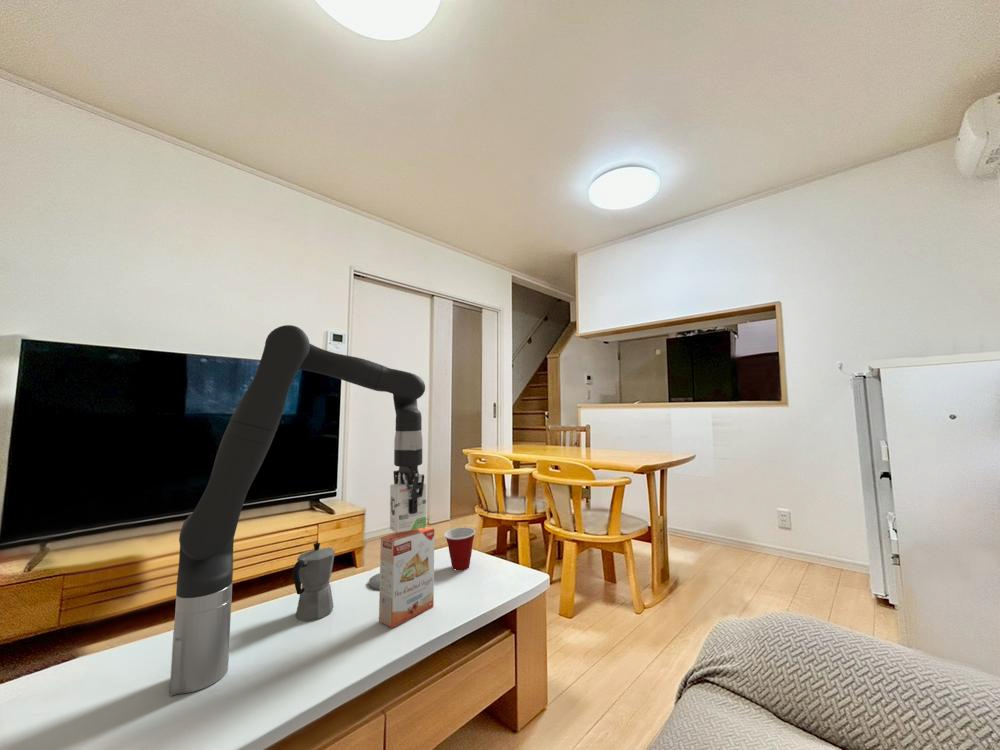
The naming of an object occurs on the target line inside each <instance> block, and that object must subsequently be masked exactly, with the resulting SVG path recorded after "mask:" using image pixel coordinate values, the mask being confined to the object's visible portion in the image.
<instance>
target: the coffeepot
mask: <svg viewBox="0 0 1000 750" xmlns="http://www.w3.org/2000/svg"><path fill="white" fill-rule="evenodd" d="M320 546H321V542H314V543H313V549H312V550H307V551H305V552H302V553H300V555H298V556H297V558H296V559H297V561H296V562H295V564H294V566H293V569H292V571H291V573H292V578H293V583H294V586H295V591H296V594H297V595H299V598H298V603H297V608H296V613H295V618H296V619H297V620H298V621H301V622H313V621H318V620H322V619H323V618H326V617H328V616H329V615H330V614H332V612H333V609H334V602H333V601H334V600H333V594H332V587H331V584H330V579H331V577H332V571H333V567H334V561H335V560H334V559H335V554H336V550H334V547H325V548H320Z"/></svg>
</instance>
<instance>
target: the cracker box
mask: <svg viewBox="0 0 1000 750" xmlns="http://www.w3.org/2000/svg"><path fill="white" fill-rule="evenodd" d="M379 558H380V562H379V563H380V564H379V573H380V590H379V602H378V603H379V607H378V610H379V611H378V612H379V613H378V623H382V624H383V625H385V626H386V627H389V628H391V629H393V628H396V627H397V626H399V625H401V624H403V623H404V622H406V621H408V620H411V619H413V618H414V617H416V616H418V615H420V614H422V613H423V612H425V611H427V610H429V609H431V608H433V607H434V603H435V601H434V595H435V594H434V591H435V588H434V585H435V584H434V582H435V581H434V580H435V576H434V575H435V528H434V527H430V526H426V527H424V528H419V529H414V530H409V531H404V532H399V533H396V532H394V533H391V534H388V535H384V536H381V537H380V557H379Z"/></svg>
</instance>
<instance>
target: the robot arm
mask: <svg viewBox="0 0 1000 750" xmlns="http://www.w3.org/2000/svg"><path fill="white" fill-rule="evenodd" d="M264 344H265V345H264V347H263V352H262V355H261V358H260V361H259V364H258V367H257V370H256V371H255V372H256V373H255V375H254V377H253V379H252V380H251V382H250V384H249V385H248V387H247V389H246V391H245V392H244V394H243V395H242V397H241V399H240V401H239V403H238V404H237V406H236V408H235V410H234V412H233V414H232V416H231V418H230V420H229V422H228V423H227V426H226V429H225V431H224V433H223V436H222V438H221V441H220V443H219V446H218V449H217V452H216V456H215V459H214V462H213V463H214V464H213V467H212V470H211V475H210V477H209V480H208V483H207V486H206V488H205V490H204V491H203V494H202V495H201V498H200V500H199V501H198V503H197V504H196V507H195V509H193V512H191V513H190V514H189V515H188V516H187V518H186V519H185V521H184V522H183V523H182V525H181V528H180V532H179V539H178V542H179V560H178V568H177V579H176V593H175V595H176V596H175V609H174V610H175V611H174V612H175V613H174V624H173V626H174V627H173V633H172V634H173V635H172V645H171V646H172V650H171V660H170V661H171V663H170V664H171V666H170V681H169V686H170V687H169V696H170V697H171V696H174V695H177V694H178V695H179V694H188V693H193V692H197V691H200V690H202V689H205V688H207V687H210V686H212V685H213V684H215V683H217V682H218V681H220V680H221V679H223V677H224V676H225V675H226V674H227V673H228V671H229V661H230V660H229V658H230V656H229V655H230V654H229V653H230V639H231V638H230V635H231V634H230V633H231V615H232V597H233V596H232V595H233V578H234V544H235V541H234V539H235V534H236V531H237V528H238V523H239V520H240V516H241V513H242V509H243V506H244V503H245V500H246V497H247V495H248V492H249V489H250V488H251V486H252V483H253V482H254V480H255V478H256V476H257V474H258V472H259V471H260V468H261V467H262V464H263V463H264V460H265V458H266V456H267V454H268V451H269V449H270V448H271V445H272V443H273V440H274V438H275V436H276V432H277V430H278V428H279V425H280V422H281V418H282V415H283V412H284V408H285V405H286V400H287V398H288V395H289V391H290V387H291V386H292V383H293V381H294V379H295V377H296V375H297V373H298V371H299V370H300V371H307V372H311V373H315V374H316V373H317V374H320V375H323V376H328V377H332V378H335V379H338V380H341V381H343V382H344V381H345V382H347V383H350V384H353V385H356V386H359V387H363V388H366V389H369V390H372V391H376V392H380V393H381V392H383V393H384V392H385V393H388V394H392V397H393V405H394V411H395V434H394V447H393V448H394V449H393V450H394V451H393V452H394V453H393V457H394V458H393V465H394V466H395V467H398V470H393V484H405V485H406V490H407V491H408V496H409V514H415V513H417V499H418V498H419V497H422V494H423V485H424V483H425V475H424V474H420V473H419V466H421V465H423V433H422V432H423V431H422V430H423V429H422V426H423V425H422V413H421V411H420V410H419V408H418V400H419V399H420V398H421V397H422V396H423V395H424V394H425V392H426V384H425V381H424V380H423V378H421V376H419V375H417V374H414V373H411V372H409V371H405V370H404V371H403V370H401V369H400V370H399V369H396V368H395V369H394V368H390V367H387V366H385V365H382V364H379V363H377V362H374V361H371V360H368V359H365V358H361V357H357V356H351V355H346V354H345V355H344V354H340V353H337V352H332V351H330V350H326V349H323V348H320V347H318V346H316V345H314V344H312V343H310V339H309V337H308V335H307V334H306V332H305V331H304V330H303V329H301V327H298V326H296V325H291V324H290V325H289V324H285V325H281V326H278V327H277V328H274V329H273V330H272V331H271V332H269V334H268V335H267V337H266V339H265V342H264ZM409 485H413V487H410V486H409ZM418 489H419V492H418ZM411 490H412V491H411Z"/></svg>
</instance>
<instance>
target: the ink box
mask: <svg viewBox="0 0 1000 750" xmlns="http://www.w3.org/2000/svg"><path fill="white" fill-rule="evenodd" d="M409 486H410V487H413V485H409ZM389 488H390V489H389V491H390V492H389V494H390V497H389V530H391V531H393V532H394V533H399V532H404V531H409V530H414V529H419V528H424V527H427V483H426V482H424V485H423V494H422V497H419V498H418V499H417V513H415V514H409V496H408V491H407V490H406V485H405V484H394V483H393V484H390V485H389ZM411 491H412V490H411ZM418 492H419V489H418Z"/></svg>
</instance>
